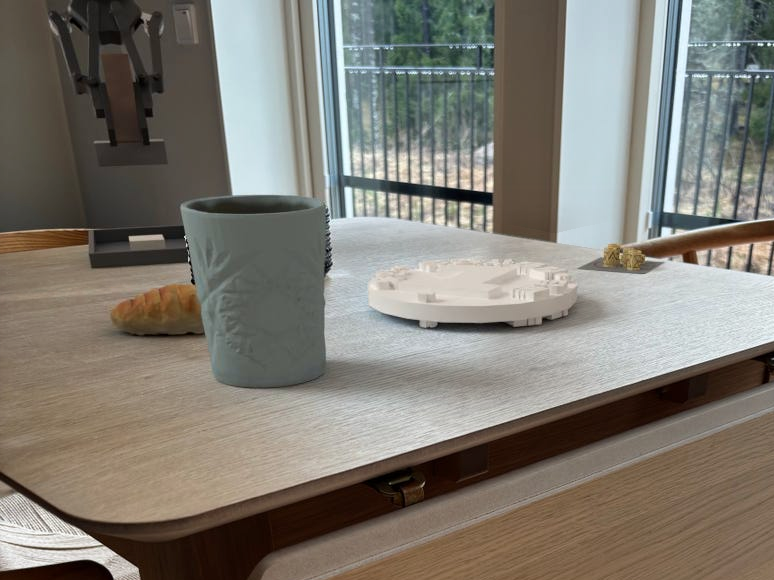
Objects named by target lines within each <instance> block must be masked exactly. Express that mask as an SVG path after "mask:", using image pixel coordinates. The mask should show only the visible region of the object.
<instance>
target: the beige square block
mask: <svg viewBox="0 0 774 580" xmlns="http://www.w3.org/2000/svg"><path fill="white" fill-rule="evenodd" d="M129 243H130V248H131V250H149V249H166V246H165V240H164V238H163V235H144V236H129Z"/></svg>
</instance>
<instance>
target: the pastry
mask: <svg viewBox="0 0 774 580" xmlns="http://www.w3.org/2000/svg"><path fill="white" fill-rule="evenodd" d="M201 311H202V307H201V304H200V301H199V299H198V296H197V290H196V285H195V284H188V283H187V284H185V283H179V284H176V283H170V284H169V283H168V284H166V285H164V286H163V287H160V288H158V287H154V288H151V289H149V290H148V291H145V292H143V293H141V294H138V295H136V296H135V297H134V298H129V299H126V300H124V301H122V302H119V303H118V304H117V305H116V306H115V307H114V308H113V309H112V310H111V311H110V312H109V318H110V320H111V324H112V326H114V327H115V328H117V329H119V330H121V331H123V332H126V333H129V334H131V335H132V336H133V335H134V334H135V335H137V336H145V335H154V336H158V335H166V334H168V335H171V336H172V335H186V334H187V333H193V334H197V335H198V334H205V330H204V325H203V321H202V314H201Z"/></svg>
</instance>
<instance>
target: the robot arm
mask: <svg viewBox="0 0 774 580" xmlns="http://www.w3.org/2000/svg"><path fill="white" fill-rule="evenodd" d="M47 19H48V23H49V28H50V31H51V34H52V35H53V37H54V38H55V39H56V40H57V42H58V43H59V44H60V48H61V51H62V55H63V58H64V61H65V65H66V68H67V69H66V70H67V72H68V75H69V79H70V82H71V85H72V89H73V92H74V93H75V94H76V95H78V96H82V95H84V94H87V95H88V96H89V97H90V99H91V104H92V109H93V115H94V117H95V118H96V119H105V125H106V129H107V135H108V141H110V146H111V147H113V146H117V142H116V136H115V130H114V124H113V119H112V114H111V108H110V103H109V97H108V93H107V88H106V82H105V81H104V82H103V80H102V79H103V77H102V76H103V75H102V73H103V66H102V61H101V55H100V54H103V46H106V45H116V46H119V47H120V50H121V53H122V54H128V56H129V63H130V69H131V75H132V80H133V87H134V93H135V100H136V106H137V112H138V118H139V124H140V130H141V135H142V140H143V145H150V141H149V139H150V135H149V133H150V132H149V126H148V121H147V118H154V116H155V108H154V107H155V106H154V102H153V97H152V95H153V94H154V93H156V94H164V93H165V78H164V67H163V59H162V47H161V43H162V40H163V38H164V35H165V26H164V25H165V24H164V23H165V22H164V14H163V13H162V11H160V10H159V11H158V10H155V11H153V12H152V14H149V13H147V12H144V11H143V10H142V8H141V6H140V5H139V4H138V3H137V0H69V4H68V5H67V11H64V12H62V13H58V12H57V11H56V10H49V11H48V12H47ZM72 25H73V26H74V27H75V28H76V29H77V30H78V31H79V32H80V33H82V34H83V35H84V36H85V37H86V38H87V75H84V74H82V71H81V68H80V64H79V61H78V58H77V54H76V51H75V47H74V43H73V40H72V37H71V34H72V32H73V29H72ZM141 26H143V27H144V32H145V34H147V37H148V39H149V51H150V61H151V71H152V73H151V74H148V71H146V69H145V66H144V64H143V61H142V59H141V55H140V54H139V51H138V48H137V45H136V44H135V41H134V38H133V37H134V35H135V34H136V33H137V31H138V30H139V28H140V27H141Z"/></svg>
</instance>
